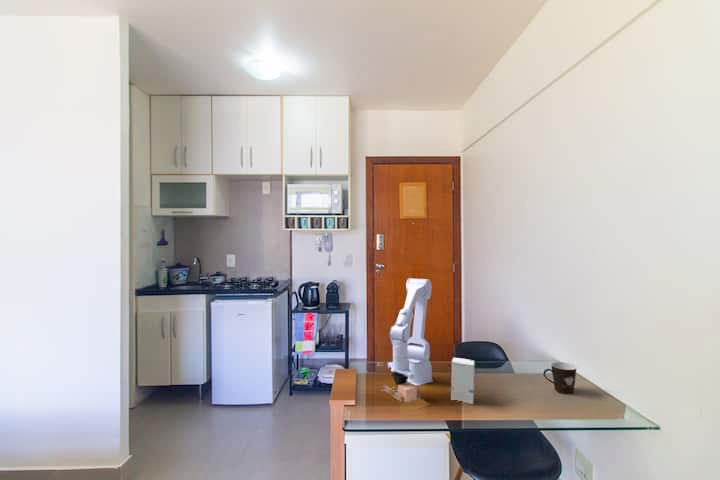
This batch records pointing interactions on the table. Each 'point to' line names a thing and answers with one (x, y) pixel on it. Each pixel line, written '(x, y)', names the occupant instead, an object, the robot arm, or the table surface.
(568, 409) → the table surface
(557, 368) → the coffee mug
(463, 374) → the skincare box
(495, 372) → the table surface
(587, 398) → the table surface
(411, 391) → the block
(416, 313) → the robot arm
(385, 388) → the chute
